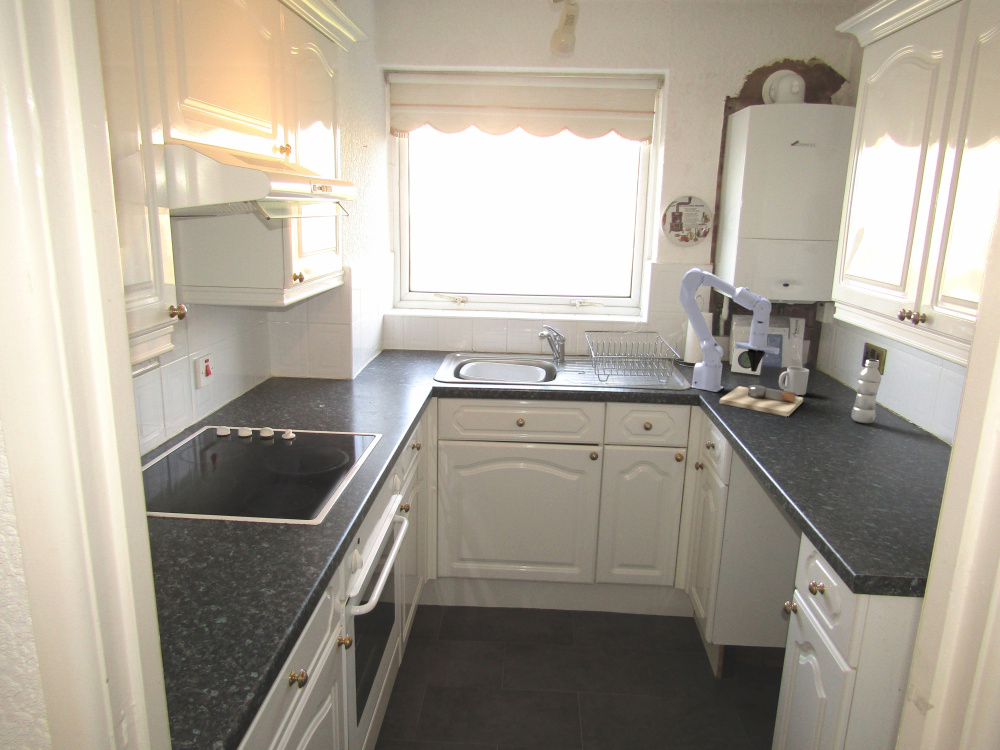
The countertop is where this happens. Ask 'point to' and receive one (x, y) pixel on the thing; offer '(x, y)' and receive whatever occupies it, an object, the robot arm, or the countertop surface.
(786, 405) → the lock board
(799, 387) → the cup
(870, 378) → the plastic bottle
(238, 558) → the countertop surface
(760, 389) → the lever
